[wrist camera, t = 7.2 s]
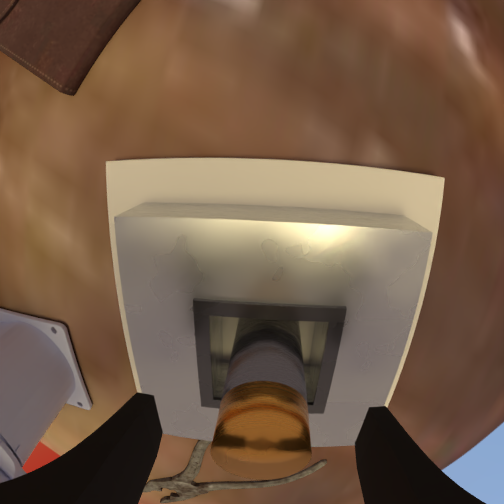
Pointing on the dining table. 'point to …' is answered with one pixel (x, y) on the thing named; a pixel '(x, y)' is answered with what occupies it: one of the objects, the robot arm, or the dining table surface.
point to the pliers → (191, 489)
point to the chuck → (268, 302)
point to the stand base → (272, 204)
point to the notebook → (59, 36)
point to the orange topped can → (264, 403)
